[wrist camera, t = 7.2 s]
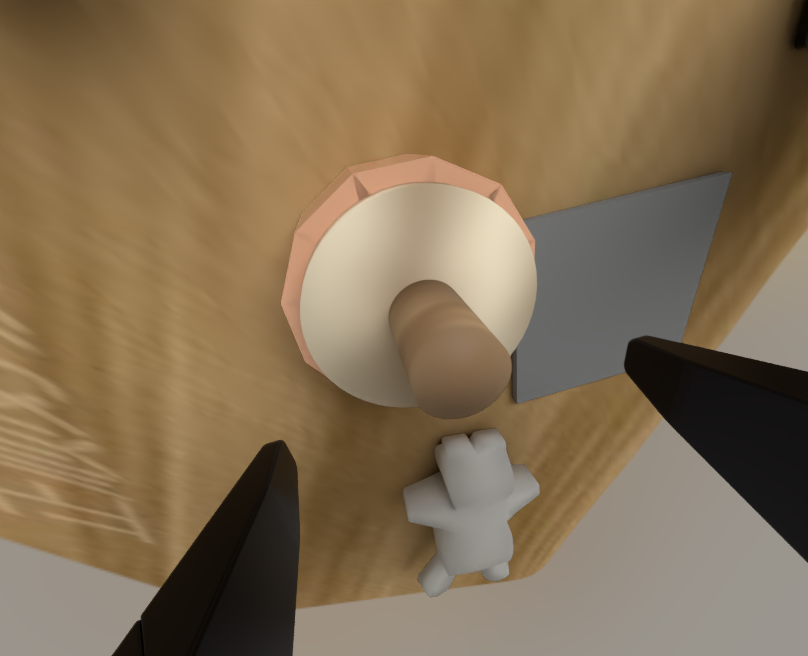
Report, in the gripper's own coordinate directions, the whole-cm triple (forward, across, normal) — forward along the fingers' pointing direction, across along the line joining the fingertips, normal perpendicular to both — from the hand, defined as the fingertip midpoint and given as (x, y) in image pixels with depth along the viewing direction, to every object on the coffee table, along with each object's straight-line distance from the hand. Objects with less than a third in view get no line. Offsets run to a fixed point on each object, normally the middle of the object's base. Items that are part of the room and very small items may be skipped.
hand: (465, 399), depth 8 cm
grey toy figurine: (+10, -2, +19) cm, 22 cm away
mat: (+10, -12, +5) cm, 16 cm away
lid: (+6, 0, 0) cm, 6 cm away
